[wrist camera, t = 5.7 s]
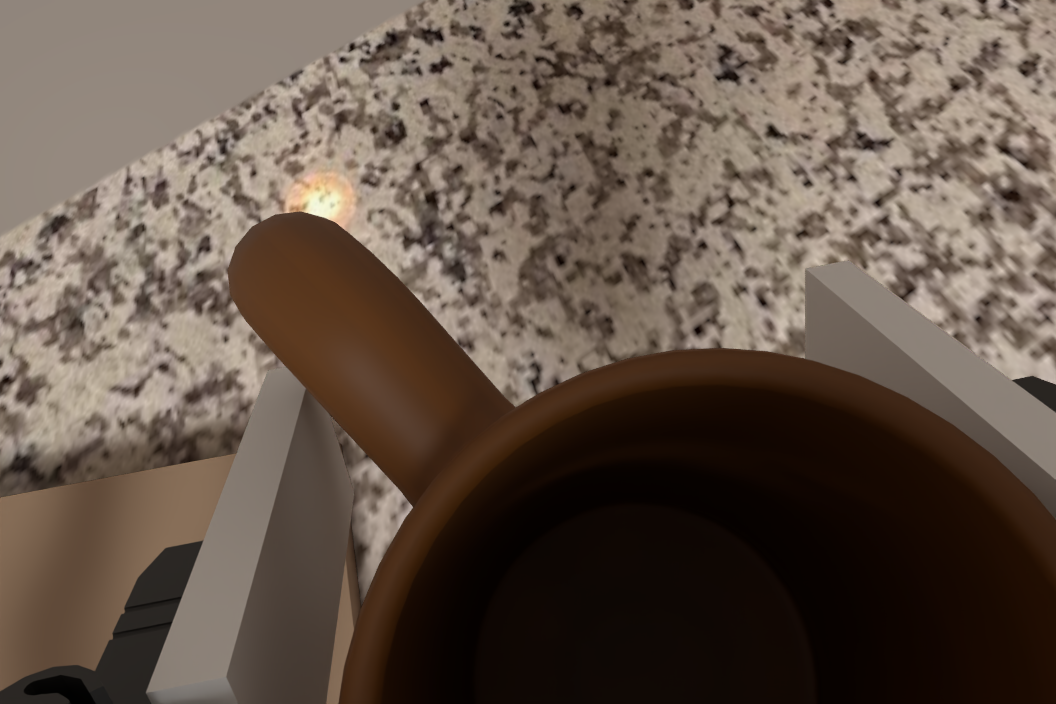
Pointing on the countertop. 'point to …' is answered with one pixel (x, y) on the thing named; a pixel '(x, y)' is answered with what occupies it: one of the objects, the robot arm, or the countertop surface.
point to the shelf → (109, 562)
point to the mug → (656, 517)
